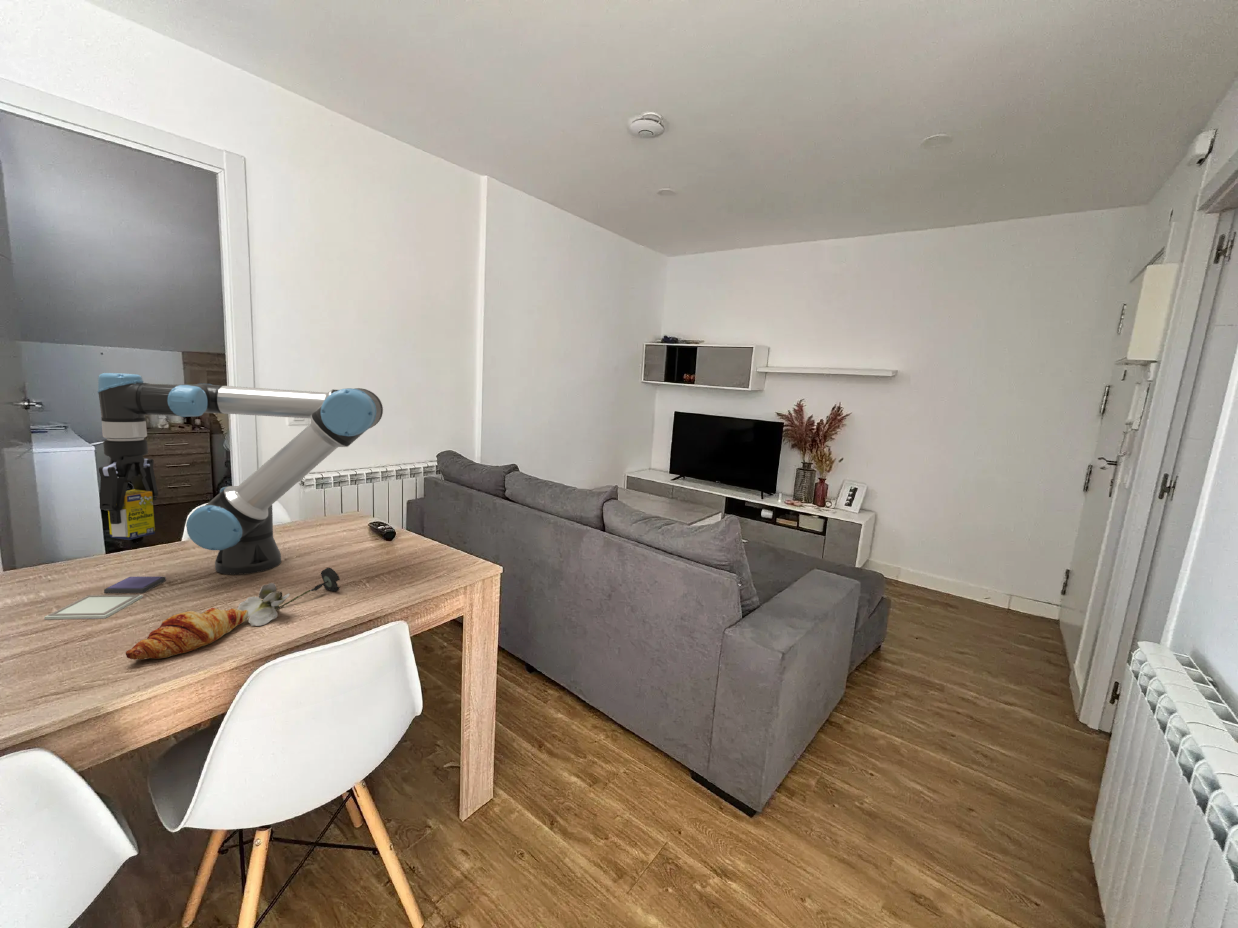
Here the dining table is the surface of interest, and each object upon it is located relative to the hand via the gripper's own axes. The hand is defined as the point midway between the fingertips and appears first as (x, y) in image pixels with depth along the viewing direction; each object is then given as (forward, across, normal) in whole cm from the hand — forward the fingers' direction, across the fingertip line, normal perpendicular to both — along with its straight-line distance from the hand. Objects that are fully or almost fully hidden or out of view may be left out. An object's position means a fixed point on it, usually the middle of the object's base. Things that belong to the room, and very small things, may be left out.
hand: (133, 530), depth 122 cm
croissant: (+15, +29, +28) cm, 43 cm away
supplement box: (+1, 0, 0) cm, 1 cm away
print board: (+14, +12, 0) cm, 19 cm away
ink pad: (+14, 0, 0) cm, 14 cm away
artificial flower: (+15, +13, +41) cm, 45 cm away
